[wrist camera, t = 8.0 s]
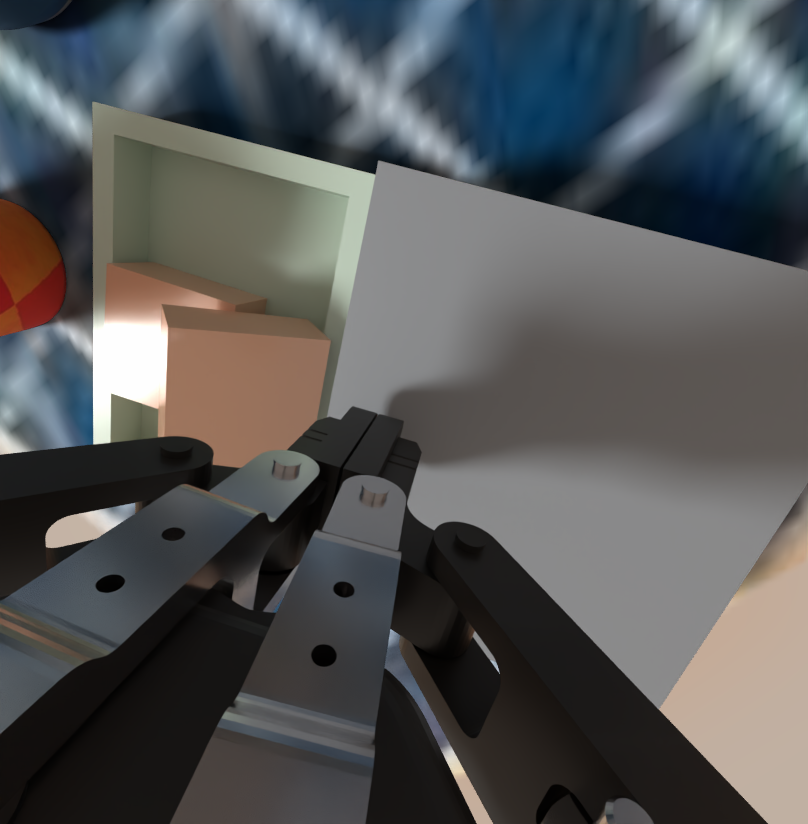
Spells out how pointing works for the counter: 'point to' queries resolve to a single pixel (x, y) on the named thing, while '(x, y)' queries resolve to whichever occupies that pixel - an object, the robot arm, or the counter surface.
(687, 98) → the counter surface
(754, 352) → the gray rectangular block
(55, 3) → the soda can
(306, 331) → the tile
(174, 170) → the tray
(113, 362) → the tile
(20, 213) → the paper cup
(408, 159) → the counter surface
